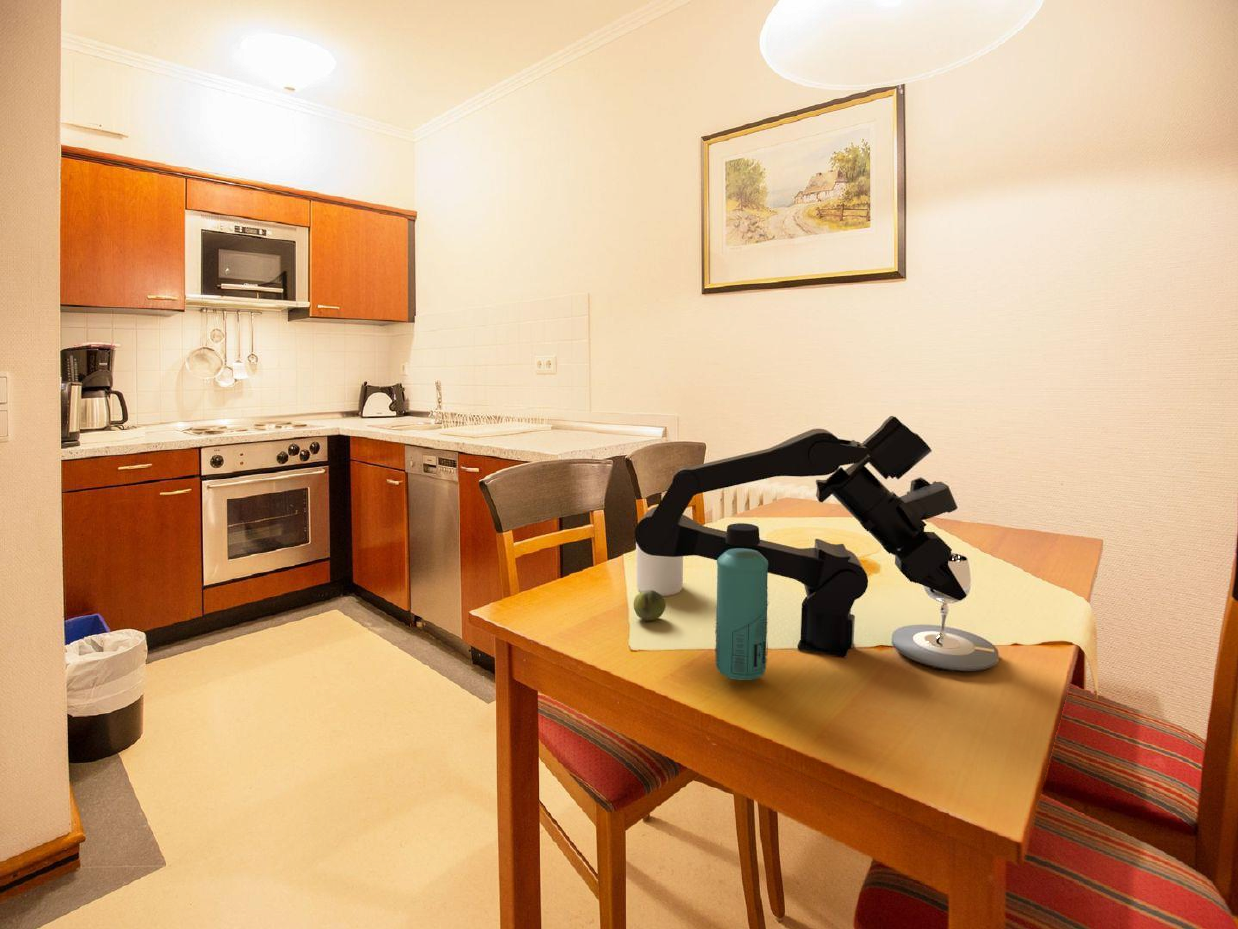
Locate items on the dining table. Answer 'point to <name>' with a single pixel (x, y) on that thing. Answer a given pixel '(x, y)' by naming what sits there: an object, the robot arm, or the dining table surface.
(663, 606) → the lime
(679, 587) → the cup
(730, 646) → the beverage bottle
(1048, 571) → the dining table surface
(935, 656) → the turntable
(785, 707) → the dining table surface
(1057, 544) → the dining table surface
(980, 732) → the dining table surface
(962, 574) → the wineglass
